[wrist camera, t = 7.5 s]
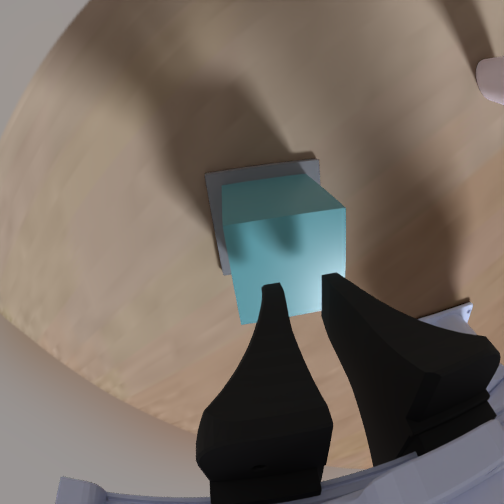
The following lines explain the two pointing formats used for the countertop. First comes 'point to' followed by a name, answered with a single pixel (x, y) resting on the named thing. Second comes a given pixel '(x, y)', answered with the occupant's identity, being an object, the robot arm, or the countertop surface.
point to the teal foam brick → (282, 241)
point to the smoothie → (491, 78)
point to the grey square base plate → (243, 175)
